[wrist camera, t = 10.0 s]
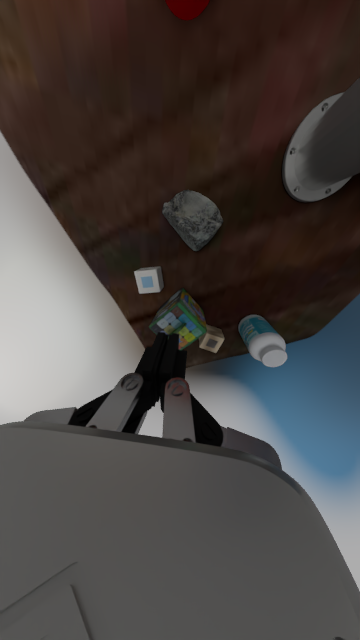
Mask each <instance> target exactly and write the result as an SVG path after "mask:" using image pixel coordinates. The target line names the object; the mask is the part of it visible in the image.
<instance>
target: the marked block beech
mask: <svg viewBox="0 0 360 640" xmlns="http://www.w3.org/2000/svg"><path fill="white" fill-rule="evenodd" d="M206 328H207V332H206V333H205V334H203V335H202V336H201V337H199V347H200V348H203V349H206V350H209V351H212V352H215V353H216V352H217V351H218V349H219V347H220V346H221V344H222V343H223V341H224V336H223V333H222V330H221V329H218V328H216V327H213V326H210V325H207V324H206Z"/></svg>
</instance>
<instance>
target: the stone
mask: <svg viewBox="0 0 360 640" xmlns="http://www.w3.org/2000/svg"><path fill="white" fill-rule="evenodd" d="M162 214H163V215H164V216H165V217H166V219H167V220H168V221H169V222H170V224H171V225H172V226H173V227H174V229H175V230H176V231H177V233H178V234H179V235H180V236H181V238H182V239H183V240H184V242H185V243H186V244H187V245H188V246H189V247H190V248H191V249H192V250H194V251H199V250H200V249H201V248H202V247H203V246H204V245H206V244H207V243H208V242H209V241H210V240H211V239H212V237H213V236H214V235H215V233H216V232H217V230H218V229H219V227H220V226H221V224H222V223H223V220H222V217H221V216H220V212H219V209H218V208H217V207H216V205H215V204H214V203H213V202H212V201H211V200H210V199H209V198H207V197H205V196H203V195H201V194H200V193H197V192H195V191H189V190H184V191H182V192H180V193H178V194H176V195H175V197H174V198H173V199H172V200H170V202H169V203H164V206H163V212H162Z"/></svg>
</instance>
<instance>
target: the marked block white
mask: <svg viewBox="0 0 360 640" xmlns="http://www.w3.org/2000/svg"><path fill="white" fill-rule="evenodd" d="M134 273H135V277H136V281H137V286H138V290H139V294H141V293H153V292H160V291H161V290H162V288H163V287H164V284H163V278H162V271H161V266H160V267H150V268H141V269H139V270H137V271H134Z"/></svg>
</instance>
